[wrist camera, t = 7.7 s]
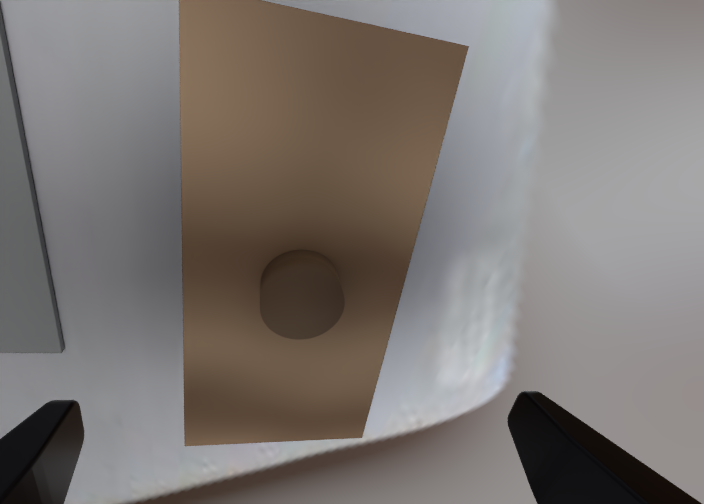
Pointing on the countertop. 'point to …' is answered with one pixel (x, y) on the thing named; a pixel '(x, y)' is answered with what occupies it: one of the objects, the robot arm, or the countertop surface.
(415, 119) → the walnut lid
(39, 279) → the rubber mat
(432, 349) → the countertop surface
